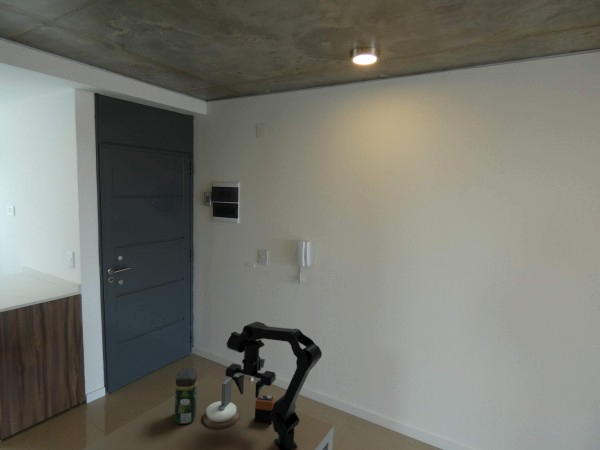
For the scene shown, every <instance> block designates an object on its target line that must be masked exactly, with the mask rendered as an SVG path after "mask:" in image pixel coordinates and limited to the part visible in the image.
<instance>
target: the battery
mask: <svg viewBox="0 0 600 450" xmlns="http://www.w3.org/2000/svg"><path fill="white" fill-rule="evenodd" d="M274 403H275V396H273V395H271V394H268V395H266V394H265V395H263V394H259V395H258V397H257V398H255V406H254V423H260V424H267V425H272V424H273V422H272V418H271V413H272V412H271V410H272V409H273V406H274Z"/></svg>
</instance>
